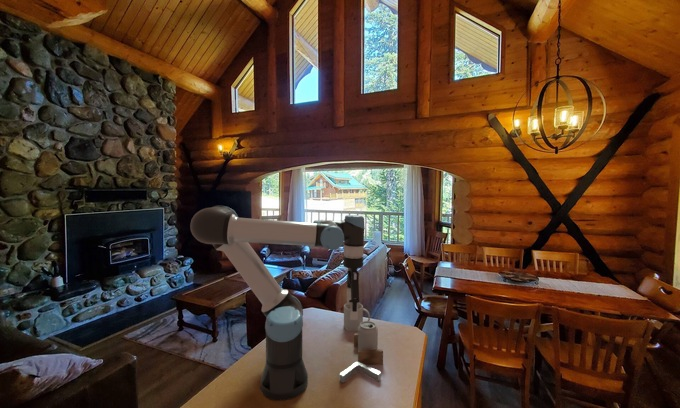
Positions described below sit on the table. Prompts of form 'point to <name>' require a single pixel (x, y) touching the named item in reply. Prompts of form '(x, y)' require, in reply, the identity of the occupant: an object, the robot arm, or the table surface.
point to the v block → (362, 369)
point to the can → (367, 336)
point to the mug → (353, 324)
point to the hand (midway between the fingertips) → (351, 311)
